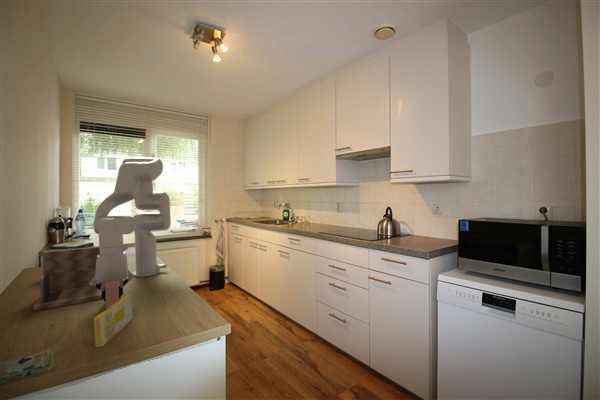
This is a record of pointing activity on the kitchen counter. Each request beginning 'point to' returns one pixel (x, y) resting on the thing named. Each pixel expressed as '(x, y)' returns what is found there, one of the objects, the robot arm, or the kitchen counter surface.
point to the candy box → (112, 320)
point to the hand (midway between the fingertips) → (112, 298)
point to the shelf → (70, 276)
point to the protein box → (70, 246)
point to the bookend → (47, 290)
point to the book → (111, 293)
